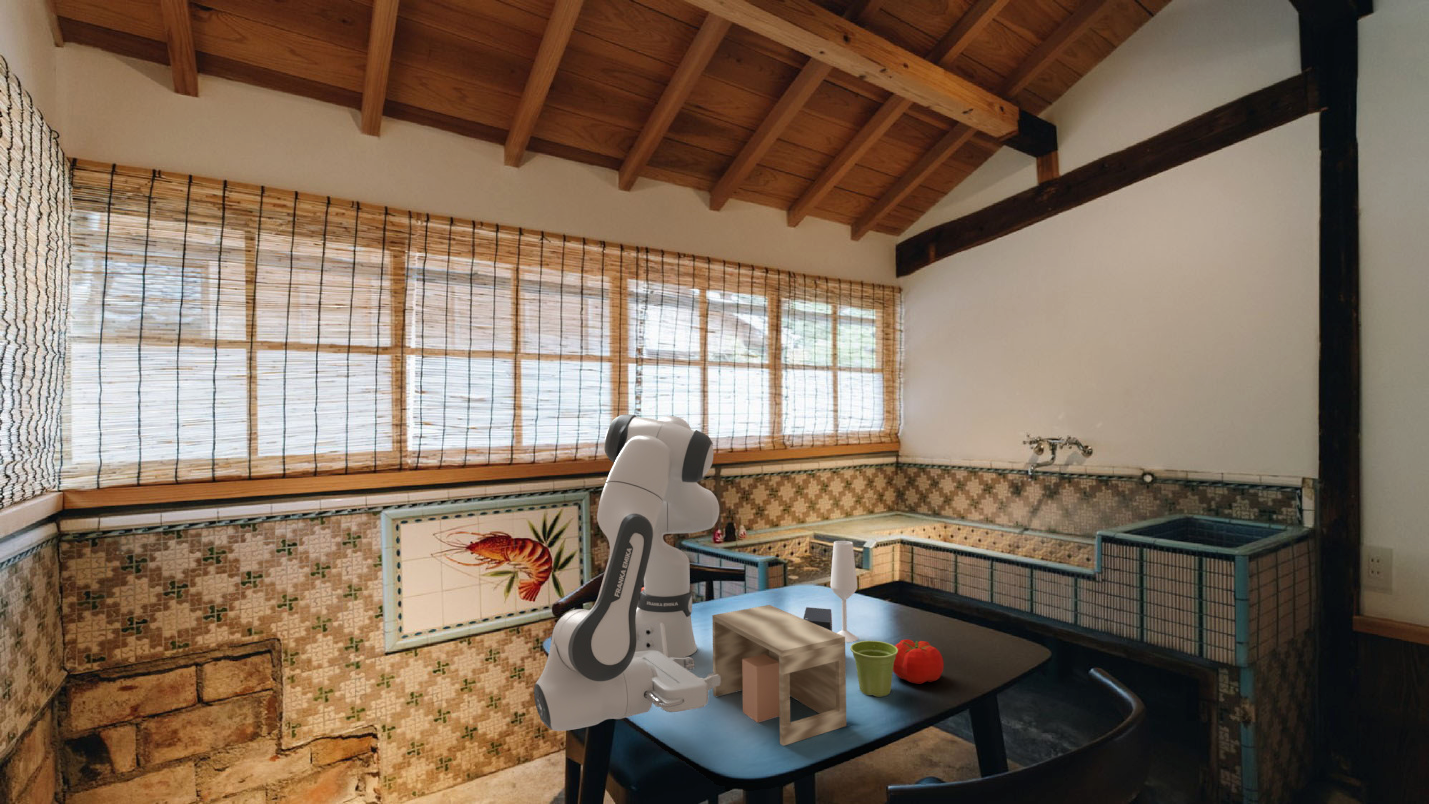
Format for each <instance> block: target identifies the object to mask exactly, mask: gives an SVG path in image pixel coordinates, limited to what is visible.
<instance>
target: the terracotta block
mask: <svg viewBox="0 0 1429 804" xmlns="http://www.w3.org/2000/svg"><path fill="white" fill-rule="evenodd" d="M742 675H743V690H742V713H743V714H744V715H746V716H747V717H749V718H750V719H752V720H753V721H755V722H756V723H761V722H764V721H769V720H771V719H775V718H778V717H779V718H780V711H779V662H778V661H776V660H774V659H772V658H770V657H768V656H767V655H765V654H763V655H758V656H754V657H749V658H745V659H742Z"/></svg>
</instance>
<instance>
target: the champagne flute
mask: <svg viewBox="0 0 1429 804" xmlns="http://www.w3.org/2000/svg"><path fill="white" fill-rule="evenodd" d="M832 548H833V549H832V560H831V569H830V571H831V572H830V573H831V574H830V588H831V591H832V592H833V593H834V594H835V595H836V596H837V597H838V598H839V599H840V600H841V630H839V631H838V632H837V633H838V634H840V635H842V636H845V643H853V641H854V642H856V641H858V640H859V637H858V636H857V635H855V634H853V633H852V632H850V630H848V624H847V623H848V622H847V621H848V620H847V618H848V616H847V600H848V599H849V598H851V597H852V596H853V595H854V594H855V592H856V591H857V589H858V580H857V579H858V578H857V571H856V561H855V553H854V543H853V541H851V540H850V541H848V540H835V541H833V546H832Z"/></svg>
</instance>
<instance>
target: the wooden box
mask: <svg viewBox="0 0 1429 804" xmlns="http://www.w3.org/2000/svg"><path fill="white" fill-rule="evenodd" d="M711 616H712V673H716V674H718V675H719V676H720V677H721V683H720V685H719V686H716V687H712V695H713V696H714V697H715V696H717V697H720V695H721V696H724V694H725V695H730V694H732V693H736V691H737V692H740V691H743V675H742V659H745V658H749V657H754V656H758V655H763V654H765V655H767V656H768V657H770V658H772V659H774V660H776V661H778V662H779V711H780V716H779V744H780V745H781V746H787V745H792V744H794V743H796V742H799V741H800V742H801V741H804V740H806V739H809V738H812V737H816V736H819V735H821V734H826V733H828V732H829V733H830V732H832V731H835V730H837V729H842V728H844V727H847V684H846V683H847V680H846V678H847V675H846V673H847V672H846V671H847V669H846V663H847V662H846V642H845V636H842V635H840V634H838V632H835V631H833V630H832V631H831V630H828V629H826V628H823V627H821V626H819V625H816V624H814V623H811V622H809V621H807V620H804V619H803V618H802V617H800V616H797V615H795V614H792V613H791V612H790V613H789V612H787V611H786V610H783V609H780V608H778V607H776V606H773V605H770V604H767V605H762V606H757V607H751V608H745V609H739V610H734V611H729V612H723V613H717V614H712V615H711ZM790 697H791V698H792V699H795V700H796V701H798V702H800V703H801V704H803V705H805V706H806V707H808V708H810V710H813V711H814V712H816V713H818V714H815V715H811V716H807V717H804V718H800V719H798V720H794V721H791V698H790Z"/></svg>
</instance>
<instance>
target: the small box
mask: <svg viewBox="0 0 1429 804" xmlns="http://www.w3.org/2000/svg"><path fill="white" fill-rule="evenodd" d="M802 619H804V620H807V621H809V622H811V623H814V624H816V625H819V626H821V627H823V628H826V629H828V630H831V631H833V613H832V609H831V608H819V607H808V606H807V607H805V611H804V615H803V618H802Z"/></svg>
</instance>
